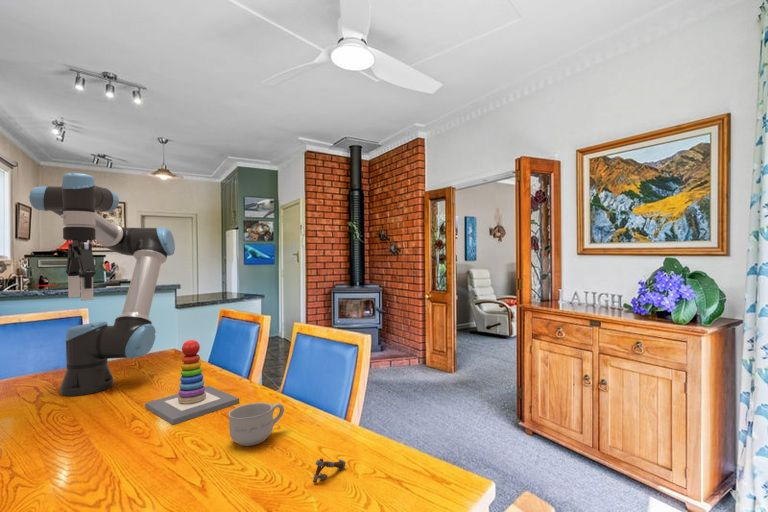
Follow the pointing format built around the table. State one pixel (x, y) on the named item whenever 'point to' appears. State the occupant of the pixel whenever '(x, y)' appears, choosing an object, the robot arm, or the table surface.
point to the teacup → (253, 422)
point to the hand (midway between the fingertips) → (80, 298)
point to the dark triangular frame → (320, 463)
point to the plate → (190, 406)
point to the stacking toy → (191, 375)
